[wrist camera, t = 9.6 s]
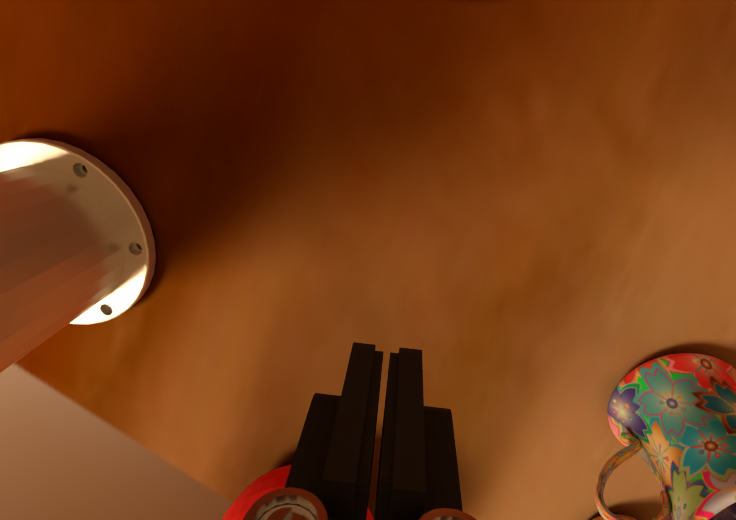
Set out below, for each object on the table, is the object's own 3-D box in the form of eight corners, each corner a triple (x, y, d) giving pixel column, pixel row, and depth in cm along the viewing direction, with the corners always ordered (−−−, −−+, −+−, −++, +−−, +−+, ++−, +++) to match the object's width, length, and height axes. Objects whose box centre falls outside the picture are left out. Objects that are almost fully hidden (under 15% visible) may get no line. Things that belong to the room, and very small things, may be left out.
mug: (753, 332, 28) (939, 472, 18) (736, 445, 31) (885, 616, 21) (552, 352, 29) (621, 489, 20) (557, 457, 33) (618, 618, 23)
